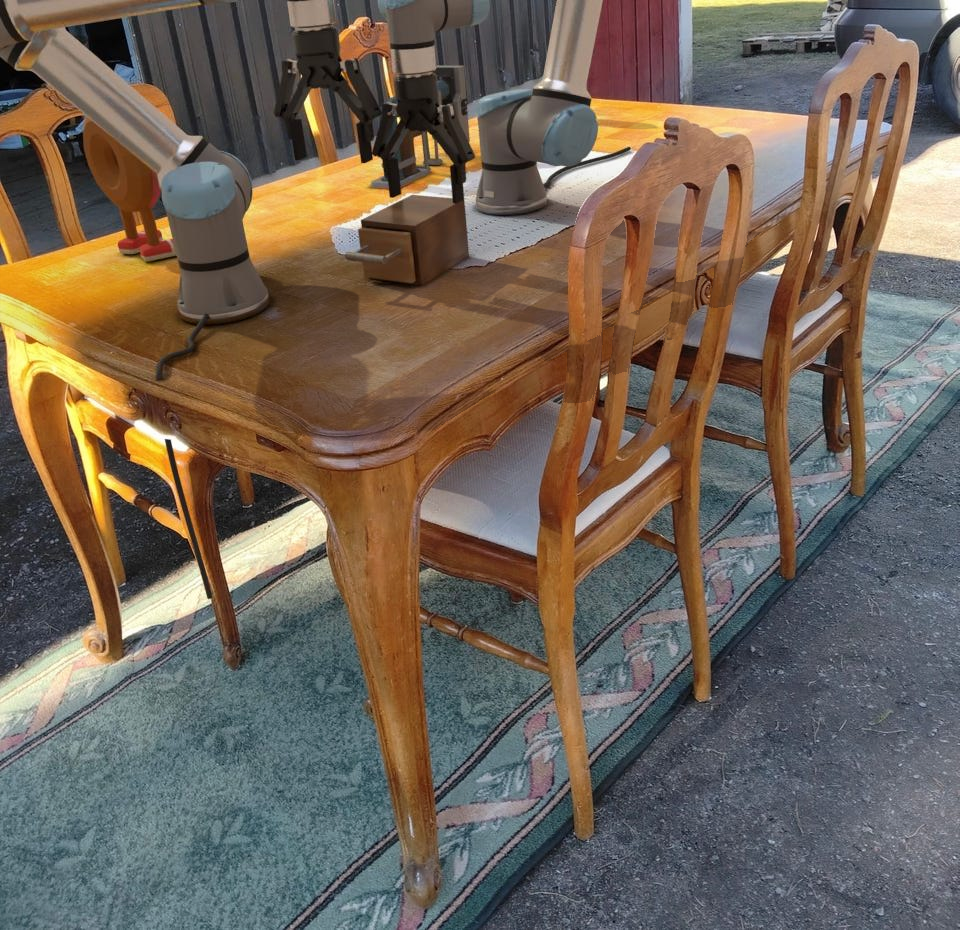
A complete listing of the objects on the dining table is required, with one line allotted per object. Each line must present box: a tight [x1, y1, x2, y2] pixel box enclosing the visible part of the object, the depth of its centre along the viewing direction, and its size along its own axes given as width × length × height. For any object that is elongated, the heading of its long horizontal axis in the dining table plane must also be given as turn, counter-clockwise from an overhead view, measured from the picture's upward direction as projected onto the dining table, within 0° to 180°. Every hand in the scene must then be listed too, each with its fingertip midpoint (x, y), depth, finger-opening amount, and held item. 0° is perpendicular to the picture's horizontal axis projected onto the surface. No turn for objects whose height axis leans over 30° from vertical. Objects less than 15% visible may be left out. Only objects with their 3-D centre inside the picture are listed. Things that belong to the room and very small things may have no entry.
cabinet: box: [360, 194, 470, 286], centre depth 175 cm, size 16×12×11 cm
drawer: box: [345, 227, 416, 284], centre depth 171 cm, size 21×10×9 cm, turn 150°
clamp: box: [369, 65, 471, 190], centre depth 235 cm, size 35×9×21 cm, turn 151°
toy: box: [82, 115, 177, 262], centre depth 190 cm, size 21×10×30 cm, turn 47°
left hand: (333, 160), depth 168 cm, fingers open, 13 cm apart
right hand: (426, 198), depth 175 cm, fingers open, 13 cm apart
